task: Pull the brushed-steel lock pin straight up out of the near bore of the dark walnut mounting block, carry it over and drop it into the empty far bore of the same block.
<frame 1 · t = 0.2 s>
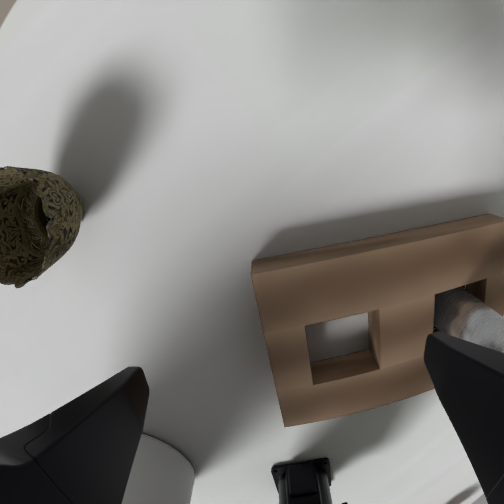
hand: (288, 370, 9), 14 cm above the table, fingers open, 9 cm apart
cylinder vase: (144, 459, 30), on the table
mount block: (393, 316, 24), on the table
cup: (70, 208, 22), on the table
lock pin: (442, 301, 24), resting in mount block
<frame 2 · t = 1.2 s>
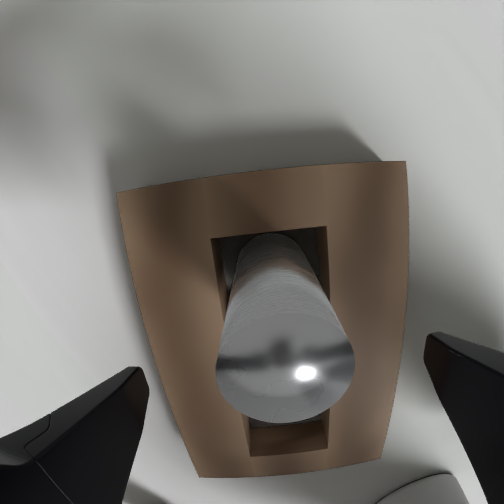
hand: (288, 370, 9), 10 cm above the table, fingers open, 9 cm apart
cylinder vase: (410, 498, 26), on the table
mount block: (279, 343, 19), on the table
lock pin: (271, 267, 18), resting in mount block
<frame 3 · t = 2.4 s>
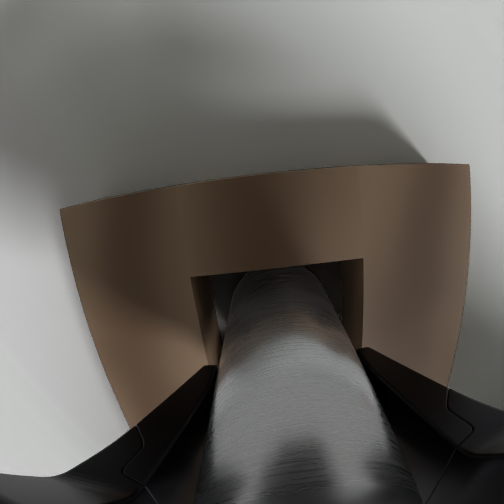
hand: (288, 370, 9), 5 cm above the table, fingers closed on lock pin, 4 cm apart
mount block: (287, 396, 14), on the table
lock pin: (279, 306, 13), resting in mount block, touching gripper
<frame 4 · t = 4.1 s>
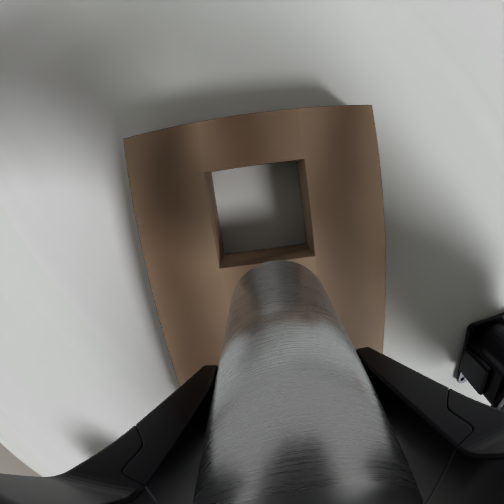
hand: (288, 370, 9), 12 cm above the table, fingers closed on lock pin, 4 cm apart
mount block: (269, 282, 21), on the table
lock pin: (279, 306, 13), point 8 cm above the table, touching gripper
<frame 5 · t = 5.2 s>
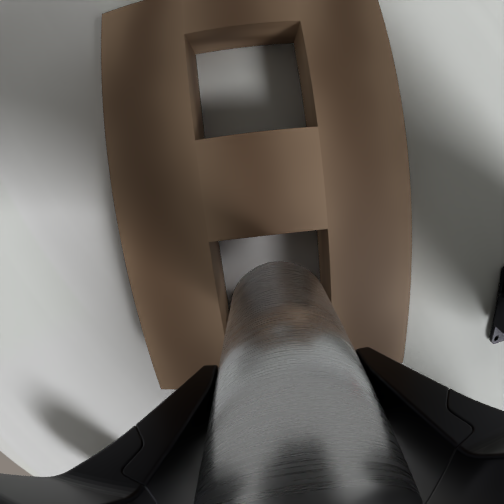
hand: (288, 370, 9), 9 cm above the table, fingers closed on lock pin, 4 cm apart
mount block: (261, 181, 16), on the table
lock pin: (279, 307, 13), point 5 cm above the table, touching gripper
when the fingers open (6 cm above the table, at t = 6.2 s): lock pin drops 1 cm, resting in mount block.
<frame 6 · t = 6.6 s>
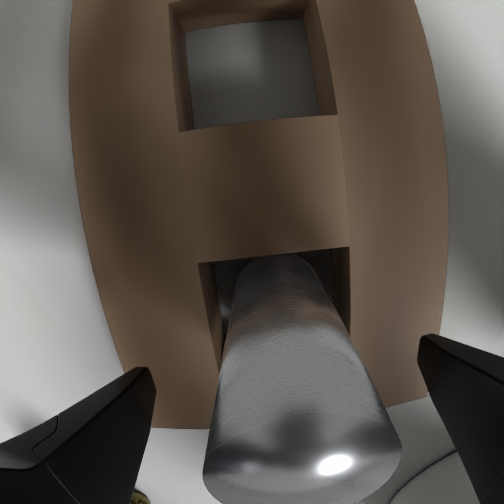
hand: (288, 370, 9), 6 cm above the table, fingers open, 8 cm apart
cylinder vase: (443, 480, 20), on the table
mount block: (264, 184, 13), on the table
cup: (134, 494, 20), on the table
lock pin: (278, 293, 15), resting in mount block
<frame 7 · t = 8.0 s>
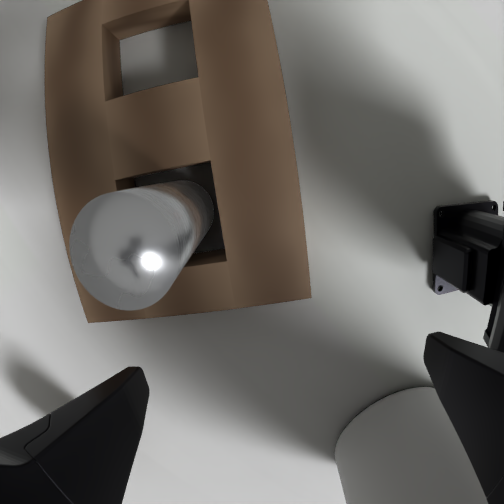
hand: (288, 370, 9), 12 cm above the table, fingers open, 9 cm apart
cylinder vase: (393, 430, 25), on the table
mount block: (168, 133, 18), on the table
lock pin: (182, 212, 19), resting in mount block
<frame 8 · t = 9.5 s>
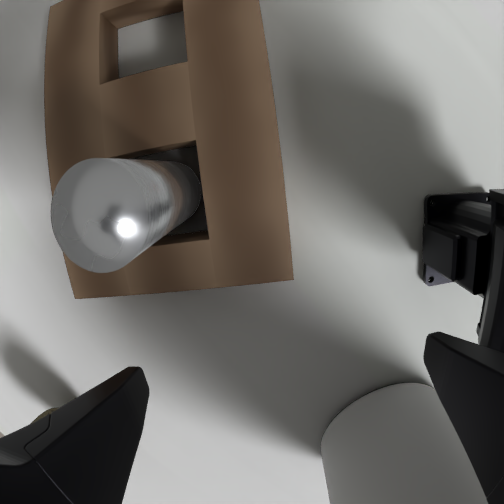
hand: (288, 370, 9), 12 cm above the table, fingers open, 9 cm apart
cylinder vase: (382, 427, 25), on the table
mount block: (159, 117, 18), on the table
lock pin: (170, 192, 19), resting in mount block
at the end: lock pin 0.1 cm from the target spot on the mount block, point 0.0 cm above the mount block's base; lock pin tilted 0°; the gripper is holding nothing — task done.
